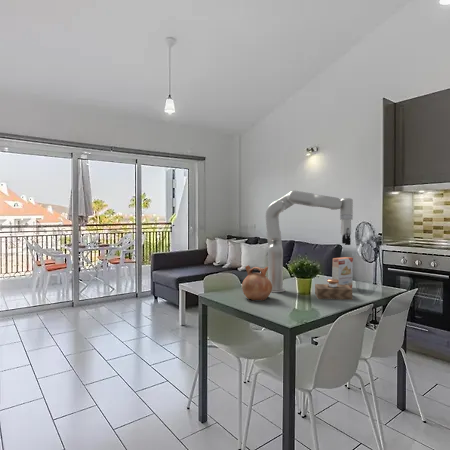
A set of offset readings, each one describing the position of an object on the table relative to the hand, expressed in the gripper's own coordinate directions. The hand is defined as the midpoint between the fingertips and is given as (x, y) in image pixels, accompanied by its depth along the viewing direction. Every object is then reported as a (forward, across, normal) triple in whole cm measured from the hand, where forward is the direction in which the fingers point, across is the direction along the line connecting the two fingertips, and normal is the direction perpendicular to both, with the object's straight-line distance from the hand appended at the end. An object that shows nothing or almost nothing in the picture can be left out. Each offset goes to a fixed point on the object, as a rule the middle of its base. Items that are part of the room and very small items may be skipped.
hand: (346, 244), depth 226 cm
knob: (+28, +12, -10) cm, 32 cm away
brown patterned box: (+31, +12, -10) cm, 35 cm away
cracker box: (+31, -12, 0) cm, 34 cm away
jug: (+32, +22, -56) cm, 68 cm away
